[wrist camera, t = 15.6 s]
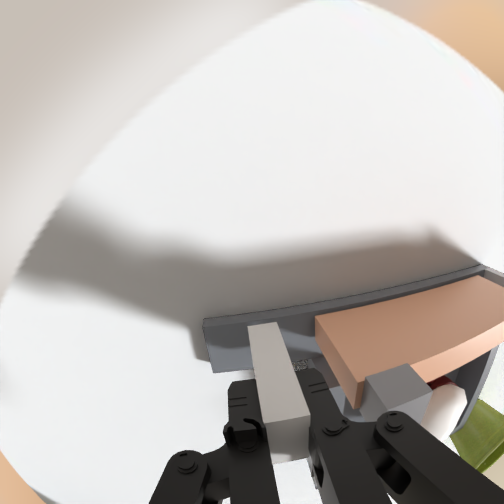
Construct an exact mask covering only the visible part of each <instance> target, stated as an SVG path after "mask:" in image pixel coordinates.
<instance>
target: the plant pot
mask: <svg viewBox="0 0 504 504" xmlns="http://www.w3.org/2000/svg"><path fill="white" fill-rule="evenodd" d="M450 438H451V440H452V442H453V443H454V445H455V447H456V449H457V451H458V453H459V455H460V457H461V458H462V459H464V460H465V461H466V462H467V463H469V464H470V465H471V466H473V467H474V468H475V469H476V470H478V471H479V472H480V473H483V472H485V471H486V470H487V469H488V468H489V467H491V466H492V465H493V464H494V463H495V462H496V461H497V460H498V459H499V458H500V457H501V456H502V455H503V454H504V415H502V414H501V413H499V412H498V411H497V410H495V409H494V408H492V407H491V406H490V405H488V404H487V403H485V402H484V401H483V400H479V399H477V401H476V403H475V405H474V407H473V410H472V411H471V413H470V415H469V417H468V419H467V421H466V423H465V425H464V427H463V428H462V429H460V430H459V431H457V432H455V433H454V434H452V435H450Z"/></svg>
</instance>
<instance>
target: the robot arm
mask: <svg viewBox="0 0 504 504" xmlns="http://www.w3.org/2000/svg"><path fill="white" fill-rule="evenodd" d="M247 327H248V334H249V340H250V347H251V354H252V361H253V367H254V374H255V379H250V380H242V381H234V382H232V383H231V385H230V387H229V389H228V413H229V421H228V423H227V424H226V425H225V426H224V430H223V435H224V438H225V441H226V443H225V444H224V445H223V446H222V447H221V448H219V449H217V450H215V451H212V452H209V453H206V454H201V453H200V452H196V451H193V450H184V451H181V452H178V453H176V454H175V455H173V456H172V457H171V458H170V460H169V461H168V463H167V465H166V467H165V469H164V472H163V474H162V476H161V478H160V480H159V482H158V485H157V487H156V489H155V491H154V493H153V495H152V497H151V500H150V502H149V504H222V501H223V499H226V498H229V497H230V503H231V504H280V501H279V496H278V491H277V486H276V480H275V475H274V470H273V465H272V464H277V463H283V462H289V461H294V460H299V459H304V458H308V457H309V453H310V456H311V459H312V470H311V477H315V480H316V483H317V486H318V490H319V493H320V496H321V499H322V503H323V504H392V502H391V500H390V498H389V496H388V494H389V495H390V496H391V497H392V498H393V499H394V500H395V502H396V503H397V504H504V490H503V489H501V488H500V487H499V486H497V485H496V484H495V483H493V482H492V481H491V480H489V479H488V478H487V477H486V476H484V475H483V474H482V473H480V472H479V471H478V470H476V469H475V468H474V467H473V466H471V465H470V464H469V463H467V462H466V461H465V460H464V459H462V458H461V457H460V456H458V455H457V454H456V453H455V452H453V451H452V450H451V449H450V448H448V447H447V446H446V445H445V444H443V443H442V442H441V441H440V440H438V439H437V438H436V437H435V436H433V435H432V434H431V433H430V432H428V431H427V430H426V429H425V428H423V427H422V426H421V425H420V424H419V423H417V422H416V421H415V420H414V419H412V418H411V417H410V416H409V415H407V414H406V413H404V412H401V411H388V412H386V413H383V414H382V415H381V416H380V417H379V418H378V419H377V421H374V422H355V421H351V420H349V419H348V418H347V417H345V416H343V415H342V413H341V412H340V409H339V407H338V405H337V403H336V401H335V399H334V397H333V395H332V393H331V391H330V390H329V387H328V385H327V383H326V381H325V379H324V377H323V375H322V373H320V372H319V371H318V370H316V369H315V368H309V369H305V370H300V371H294V368H293V365H292V363H291V360H290V357H289V354H288V352H287V349H286V346H285V343H284V341H283V338H282V335H281V332H280V330H279V327H278V324H277V322H272V323H266V324H259V325H252V326H247ZM387 493H388V494H387Z"/></svg>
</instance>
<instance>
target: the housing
mask: <svg viewBox="0 0 504 504" xmlns="http://www.w3.org/2000/svg"><path fill="white" fill-rule="evenodd" d="M477 275H479V276H481V277H483V278H485V279H488V280H490V281H492V282H494V283H496V284H498V285H500V286H502V287H504V273H501V272H499V271H497V270H495V269H492V268H490V267H487V266H485V265H483V264H482V265H478V266H475V267H471V268H468V269H464V270H461V271H457V272H453V273H450V274H446V275H442V276H438V277H434V278H430V279H426V280H422V281H418V282H414V283H410V284H406V285H401V286H397V287H392V288H388V289H383V290H379V291H374V292H369V293H365V294H360V295H355V296H350V297H345V298H339V299H334V300H329V301H323V302H318V303H312V304H306V305H300V306H294V307H288V308H281V309H275V310H268V311H261V312H254V313H247V314H240V315H232V316H224V317H216V318H207V319H204V321H203V331H204V336H205V340H206V345H207V349H208V353H209V358H210V362H211V366H212V370H213V373H221V372H230V371H239V370H247V369H254V367H253V361H252V354H251V347H250V340H249V334H248V327H247V326H252V325H259V324H266V323H272V322H277V324H278V327H279V330H280V332H281V335H282V338H283V341H284V343H285V346H286V349H287V352H288V354H289V357H290V360H291V363H292V362H297V361H302V360H307V368H308V369H309V368H315V369H316V370H318V371H319V372H320V373H322V375H323V377H324V379H325V381H326V383H327V385H328V387H329V390H330V391H331V393H332V395H333V397H334V399H335V401H336V403H337V405H338V407H339V409H340V412H341V413H342V415H343V416H345V417H347V418H348V419H349V420H351V421H355V422H366V421H365V420H364V418H363V416H362V414H361V413H360V411H359V410H360V408H357V409H354V410H353V408H352V406H351V404H350V402H349V400H348V399H347V397H346V395H345V393H344V391H343V389H342V388H341V386H340V384H339V382H338V380H337V378H336V377H335V375H334V373H333V371H332V369H331V367H330V366H329V364H328V362H327V360H326V358H325V357H324V355H323V353H322V351H321V349H320V348H319V346H318V344H317V342H316V340H315V316H317V315H322V314H327V313H333V312H338V311H343V310H347V309H352V308H357V307H362V306H366V305H371V304H375V303H379V302H384V301H388V300H392V299H396V298H400V297H404V296H408V295H412V294H416V293H419V292H423V291H427V290H430V289H434V288H438V287H441V286H444V285H448V284H451V283H455V282H458V281H461V280H464V279H468V278H471V277H474V276H477ZM498 347H499V345H497V346H496V347H494V348H492V349H491V350H489V351H487V352H486V353H484V354H482V355H481V356H479V357H477V358H475V359H474V360H472V361H470V362H468V363H466V364H464V365H463V366H461V367H459V368H457V369H455V370H453V371H451V372H449V373H447V374H445V376H446V377H448V378H449V379H451V380H452V381H453V382H454V383H455V384H456V385H458V387H460V388H462V389H464V390H465V395H466V400H467V404H466V406H465V408H464V410H463V412H462V414H461V416H460V418H459V420H458V422H457V424H456V427H455V428H454V430H453V431H452V432H451V434H450V435H452V434H454V433H455V432H457V431H459V430H460V429H462V428H463V427H464V425H465V423H466V421H467V419H468V417H469V415H470V413H471V411H472V410H473V407H474V405H475V403H476V401H477V399H478V397H479V395H480V393H481V390H482V388H483V386H484V384H485V381H486V379H487V376H488V374H489V371H490V369H491V366H492V364H493V361H494V358H495V355H496V352H497V350H498ZM450 435H449V436H450ZM449 436H448V437H449ZM307 461H308V465H309V468H310V471H311V470H312V459H311V456H310V453H309V457H308V458H307ZM312 478H313V481H314V484H315V488H316V489H318V486H317V483H316V480H315V477H312Z"/></svg>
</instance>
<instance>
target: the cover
mask: <svg viewBox="0 0 504 504" xmlns="http://www.w3.org/2000/svg"><path fill="white" fill-rule="evenodd" d="M315 340H316V342H317V344H318V346H319V348H320V349H321V351H322V353H323V355H324V357H325V358H326V360H327V362H328V364H329V366H330V367H331V369H332V371H333V373H334V375H335V377H336V378H337V380H338V382H339V384H340V386H341V388H342V389H343V391H344V393H345V395H346V397H347V399H348V400H349V402H350V404H351V406H352V408H353V410H354V409H357V408H360V410H359V411H360V413H361V414H362V416H363V418H364V420H365V421H366V422H374V421H377V419H378V418H379V417H380V416H381V415H382V414H383V413H386V412H388V411H401V412H404V413H406V414H407V415H409V416H410V417H411V418H412V419H414V420H415V421H416V422H417V423H419V424H421V421H422V419H423V417H424V414H425V412H426V409H427V406H428V404H429V401H430V398H431V396H432V393H433V390H432V389H431V388H430V387H429V386H428V385H427V384H426V383H427V382H430V381H432V380H434V379H436V378H438V377H441V376H443V375H445V374H447V373H449V372H451V371H453V370H455V369H457V368H459V367H461V366H463V365H464V364H466V363H468V362H470V361H472V360H474V359H475V358H477V357H479V356H481V355H482V354H484V353H486V352H487V351H489V350H491V349H492V348H494V347H496V346H497V345H499V344H500V343H502V342H504V287H502V286H500V285H498V284H496V283H494V282H492V281H490V280H488V279H485V278H483V277H481V276H479V275H477V276H474V277H471V278H468V279H464V280H461V281H458V282H455V283H451V284H448V285H444V286H441V287H438V288H434V289H430V290H427V291H423V292H419V293H416V294H412V295H408V296H404V297H400V298H396V299H392V300H388V301H384V302H379V303H375V304H371V305H366V306H362V307H357V308H352V309H347V310H343V311H338V312H333V313H327V314H322V315H317V316H315Z"/></svg>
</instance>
